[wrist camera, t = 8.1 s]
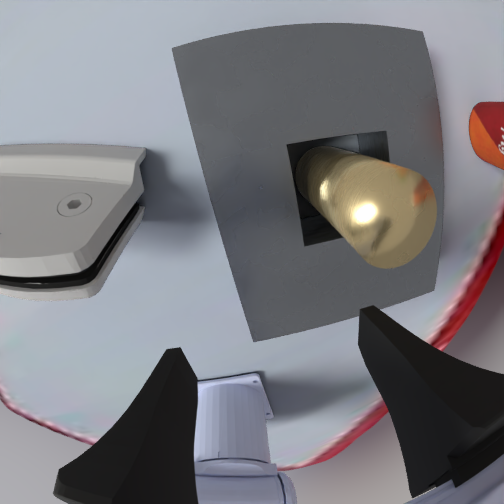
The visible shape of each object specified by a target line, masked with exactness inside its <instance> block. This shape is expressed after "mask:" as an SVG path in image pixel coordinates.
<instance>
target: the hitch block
mask: <svg viewBox="0 0 504 504" xmlns="http://www.w3.org/2000/svg"><path fill="white" fill-rule="evenodd" d="M172 52H173V56H174V60H175V65H176V69H177V73H178V77H179V81H180V85H181V89H182V93H183V97H184V101H185V105H186V109H187V113H188V117H189V121H190V125H191V129H192V132H193V136H194V140H195V144H196V148H197V151H198V155H199V159H200V162H201V166H202V170H203V174H204V177H205V181H206V184H207V188H208V192H209V195H210V199H211V202H212V206H213V209H214V213H215V216H216V220H217V223H218V227H219V230H220V234H221V237H222V241H223V244H224V248H225V251H226V254H227V258H228V261H229V264H230V268H231V271H232V274H233V278H234V281H235V284H236V288H237V291H238V294H239V297H240V301H241V304H242V307H243V310H244V314H245V317H246V320H247V323H248V326H249V329H250V333H251V336H252V339H253V342H257V341H262V340H267V339H271V338H276V337H280V336H285V335H289V334H293V333H297V332H302V331H306V330H310V329H314V328H318V327H321V326H325V325H329V324H333V323H336V322H340V321H343V320H347V319H350V318H354V317H357V316H359V313H360V309H362V308H365V307H368V306H372V305H374V306H375V307H377V308H378V309H383V308H386V307H389V306H392V305H395V304H398V303H401V302H404V301H407V300H410V299H412V298H415V297H418V296H421V295H423V294H426V293H429V292H432V291H434V289H435V283H436V277H437V270H438V263H439V255H440V247H441V236H442V224H443V205H444V161H443V142H442V130H441V120H440V112H439V105H438V98H437V92H436V86H435V80H434V75H433V70H432V66H431V61H430V57H429V53H428V49H427V45H426V42H425V38H424V35H423V32H422V31H417V30H411V29H405V28H398V27H390V26H381V25H369V24H352V23H312V24H294V25H282V26H273V27H265V28H258V29H251V30H245V31H239V32H234V33H229V34H224V35H219V36H215V37H211V38H206V39H202V40H199V41H195V42H191V43H188V44H184V45H181V46H178V47H174V48H172ZM350 134H357V135H358V142H359V149H360V154H362V155H365V156H369V157H372V158H376V159H379V160H382V161H386V162H389V163H392V164H395V165H398V166H402V167H405V168H408V169H410V170H413V171H415V172H418V173H419V174H421V175H422V176H423V177H424V178H425V179H426V180H427V181H428V182H429V184H430V185H431V187H432V189H433V192H434V194H435V198H436V203H437V217H436V223H435V227H434V230H433V233H432V235H431V237H430V239H429V241H428V243H427V244H426V246H425V247H424V248H423V250H422V251H421V252H420V253H419V254H418V255H417V256H416V257H415V258H414V259H412V260H411V261H409V262H408V263H406V264H404V265H402V266H399V267H396V268H390V269H383V268H378V267H375V266H372V265H371V264H369V263H367V262H366V261H365V260H364V259H363V258H362V257H361V256H360V255H359V254H358V252H357V251H356V250H355V249H354V248H353V247H352V246H351V245H350V244H349V243H348V242H347V241H346V239H345V238H344V237H343V236H342V235H341V234H340V233H339V232H338V231H337V230H336V229H335V228H334V227H333V226H332V225H331V224H330V223H329V222H328V221H327V220H326V219H325V218H324V217H323V216H322V215H317V216H312V217H308V218H303V219H300V216H299V210H298V204H297V198H296V193H295V187H294V181H293V176H292V171H291V165H290V160H289V155H288V150H287V145H286V144H291V143H297V142H303V141H309V140H315V139H321V138H328V137H335V136H342V135H350Z"/></svg>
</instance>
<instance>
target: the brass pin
mask: <svg viewBox="0 0 504 504" xmlns="http://www.w3.org/2000/svg"><path fill="white" fill-rule="evenodd" d="M295 180H296V185H297V187H298V190H299V191H300V193H301V194H302V195H303V196H304V197H305V198H306V199H307V200H308V201H309V202H310V203H311V204H312V205H313V206H314V207H315V208H316V209H317V210H318V211H319V212H320V213H321V214H322V216H323V217H324V218H325V219H326V220H327V221H328V222H329V223H330V224H331V225H332V226H333V227H334V228H335V229H336V230H337V231H338V232H339V233H340V234H341V235H342V236H343V237H344V238H345V239H346V241H347V242H348V243H349V244H350V245H351V246H352V247H353V248H354V249H355V250H356V251H357V252H358V254H359V255H360V256H361V257H362V258H363V259H364V260H365V261H366V262H367V263H369V264H371V265H372V266H375V267H378V268H383V269H390V268H396V267H399V266H402V265H404V264H406V263H408V262H409V261H411V260H412V259H414V258H415V257H416V256H417V255H418V254H419V253H420V252H421V251H422V250H423V248H424V247H425V246H426V244H427V243H428V241H429V239H430V237H431V235H432V233H433V230H434V227H435V223H436V217H437V203H436V198H435V194H434V192H433V189H432V187H431V185H430V184H429V182H428V181H427V180H426V179H425V178H424V177H423V176H422V175H421V174H419V173H418V172H415V171H413V170H410V169H408V168H405V167H402V166H398V165H395V164H392V163H389V162H386V161H382V160H379V159H376V158H372V157H369V156H365V155H362V154H358V153H354V152H350V151H347V150H343V149H339V148H334V147H330V146H318V147H315V148H312V149H311V150H309V151H307V152H306V153H305V154H304V155H303V156H302V157H301V159H300V160H299V162H298V164H297V167H296V172H295Z"/></svg>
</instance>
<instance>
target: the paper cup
mask: <svg viewBox="0 0 504 504" xmlns="http://www.w3.org/2000/svg"><path fill="white" fill-rule="evenodd" d="M469 135H470V140H471V144H472V147H473V149H474V151H475V153H476V154H477V156H478V157H479V158H481V159H482V160H484V161H486V162H488V163H490V164H492V165H494V166H496V167H499V168H501V169H503V170H504V102H480V103H478V104H476V105H475V106H474V108H473V109H472V112H471V115H470V119H469Z"/></svg>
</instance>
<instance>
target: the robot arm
mask: <svg viewBox="0 0 504 504" xmlns="http://www.w3.org/2000/svg"><path fill="white" fill-rule="evenodd" d="M358 346H359V348H360V351H361V354H362V357H363V359H364V362H365V365H366V367H367V369H368V371H369V372H370V374H371V376H372V378H373V380H374V382H375V384H376V386H377V388H378V390H379V392H380V394H381V396H382V398H383V400H384V402H385V404H386V406H387V408H388V410H389V413H390V415H391V418H392V421H393V424H394V427H395V430H396V433H397V437H398V440H399V443H400V447H401V451H402V455H403V458H404V463H405V467H406V472H407V478H408V483H409V490H410V493H411V496H412V498H414V497H416V496H418V495H421V494H423V493H425V492H426V491H429V490H431V489H432V488H434V487H436V488H435V489H433V490H431V491H429V492H427V493H426V494H424V495H422V496H420V497H418V498H415V499H413V500H411V501H409V502H407V503H405V504H504V374H500V373H496V372H492V371H489V370H485V369H482V368H479V367H476V366H473V365H471V364H468V363H466V362H463V361H461V360H458V359H456V358H454V357H452V356H450V355H448V354H446V353H444V352H442V351H440V350H438V349H437V348H435V347H433V346H431V345H430V344H428V343H426V342H425V341H423V340H422V339H420V338H419V337H417V336H415V335H414V334H413V333H411V332H410V331H408V330H407V329H405V328H404V327H403V326H401V325H400V324H398V323H397V322H396V321H394V320H393V319H392V318H390V317H389V316H388V315H386V314H385V313H384V312H382V311H381V310H380V309H378V308H377V307H375V306H374V305H372V306H368V307H365V308H362V309H360V313H359V336H358ZM273 417H274V415H273V412H272V409H271V407H270V404H269V401H268V398H267V396H266V393H265V390H264V387H263V384H262V382H261V379H260V376H259V374H257V373H252V374H247V375H241V376H235V377H229V378H222V379H215V380H208V381H200V382H198V380H197V377H196V375H195V373H194V371H193V370H192V368H191V366H190V364H189V362H188V361H187V359H186V357H185V355H184V353H183V351H182V349H181V348H180V347H179V348H172V349H167V350H166V351H165V353H164V354H163V356H162V357H161V359H160V361H159V362H158V364H157V365H156V367H155V369H154V370H153V372H152V373H151V375H150V377H149V378H148V380H147V381H146V383H145V384H144V386H143V388H142V389H141V391H140V392H139V393H138V395H137V396H136V398H135V399H134V401H133V402H132V403H131V405H130V406H129V408H128V409H127V410H126V411H125V413H124V414H123V415H122V416H121V417H120V419H119V420H118V421H117V422H116V423H115V424H114V425H113V427H112V428H111V429H110V430H109V431H108V432H107V433H106V434H105V435H104V436H103V437H101V438H100V439H99V440H98V441H97V442H96V443H95V444H94V445H93V446H92V447H91V448H89V449H88V450H87V451H85V452H84V453H83V454H82V455H80V456H79V457H78V458H76V459H75V460H73V461H72V462H70V463H68V464H67V465H65V466H64V467H62V468H60V469H59V472H58V475H57V479H56V483H55V488H54V492H53V494H54V496H55V497H57V498H59V499H60V500H62V501H64V502H66V503H68V504H297V497H296V492H295V488H294V485H293V483H292V480H291V479H290V478H289V477H288V476H287V475H286V474H285V473H284V472H277V466H276V464H271V461H270V451H269V443H268V435H267V427H266V420H268V419H272V418H273Z"/></svg>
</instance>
